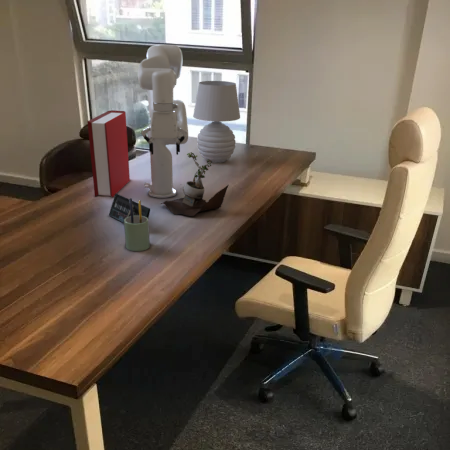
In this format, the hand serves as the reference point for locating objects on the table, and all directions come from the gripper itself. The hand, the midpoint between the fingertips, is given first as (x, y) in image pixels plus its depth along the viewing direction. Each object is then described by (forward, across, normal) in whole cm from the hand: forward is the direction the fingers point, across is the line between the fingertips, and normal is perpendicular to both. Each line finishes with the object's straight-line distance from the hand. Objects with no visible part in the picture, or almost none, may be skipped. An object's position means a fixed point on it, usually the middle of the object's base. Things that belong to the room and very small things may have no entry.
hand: (164, 153), depth 200 cm
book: (+25, +25, -36) cm, 50 cm away
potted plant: (+25, -11, -7) cm, 28 cm away
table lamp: (+24, -27, -86) cm, 93 cm away
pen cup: (+25, +10, +32) cm, 42 cm away
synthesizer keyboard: (+25, +14, +10) cm, 30 cm away
